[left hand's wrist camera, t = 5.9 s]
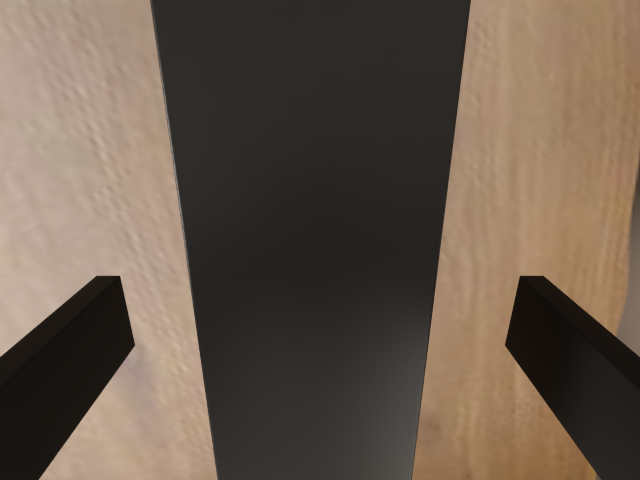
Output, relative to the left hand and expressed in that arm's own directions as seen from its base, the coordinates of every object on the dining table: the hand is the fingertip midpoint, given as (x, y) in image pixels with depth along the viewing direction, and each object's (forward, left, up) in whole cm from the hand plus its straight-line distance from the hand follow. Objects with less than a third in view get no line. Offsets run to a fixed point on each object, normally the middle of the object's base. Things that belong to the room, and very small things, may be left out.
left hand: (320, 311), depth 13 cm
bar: (+10, 0, -4) cm, 10 cm away
